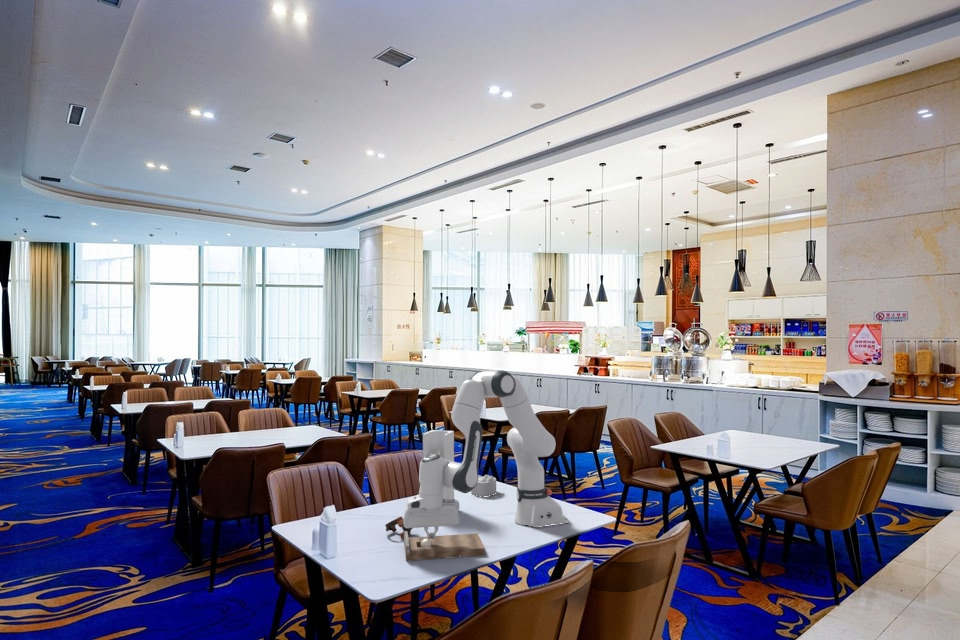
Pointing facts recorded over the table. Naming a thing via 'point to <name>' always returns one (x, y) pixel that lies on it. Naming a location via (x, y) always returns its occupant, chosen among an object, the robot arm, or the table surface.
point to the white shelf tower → (440, 450)
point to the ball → (426, 543)
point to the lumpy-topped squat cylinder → (485, 486)
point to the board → (443, 546)
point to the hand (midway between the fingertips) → (431, 538)
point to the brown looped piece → (400, 523)
